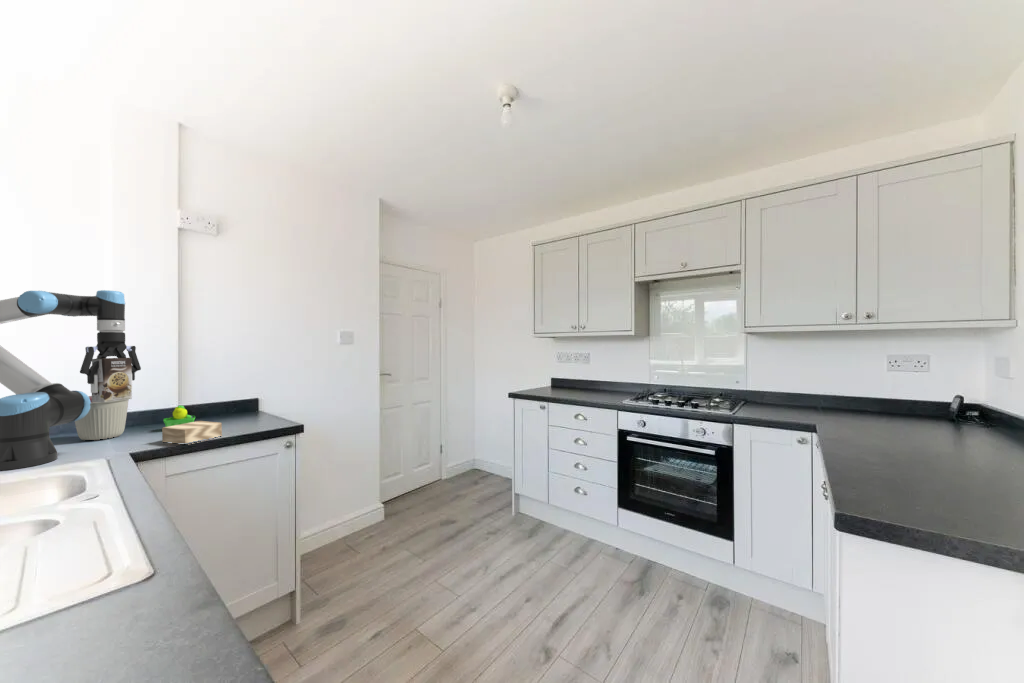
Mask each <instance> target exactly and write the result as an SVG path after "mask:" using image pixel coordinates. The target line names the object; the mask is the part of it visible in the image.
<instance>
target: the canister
mask: <svg viewBox="0 0 1024 683" xmlns="http://www.w3.org/2000/svg"><path fill="white" fill-rule="evenodd" d="M87 396H88V395H87ZM88 397H89V398H90V401H91V404H90V406H91V407H90V410H89V412H88V414H87V415H86V416H85V417H83V418H82V419H80V420H77V421H74V425H75V429H76V433H77V436H78V437H79V439H80V440H81V441H85V440H94V441H101V440H100V439H103V440H107V438H109V439H113V437H114V438H118V437H120V436H122V435H123V433H124V431H125V428H126V424H127V422H126V421H127V415H128V407H129V400H130V399H127V400H119V401H111V402H92V395H89V396H88Z"/></svg>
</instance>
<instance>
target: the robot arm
mask: <svg viewBox="0 0 1024 683" xmlns="http://www.w3.org/2000/svg"><path fill="white" fill-rule="evenodd" d="M125 311H126V301H125V294H124V293H123V292H122V291H118V290H105V289H104V290H103V289H102V290H97V291H96V294H95V295H93V296H91V295H75V294H67V293H58V292H51V291H46V290H28V291H23V293H22V294H20V295H19V296H17V297H16V296H15V297H11V298H6V299H0V325H2V324H7V323H12V322H17V321H21V320H25V319H32V318H36V317H41V316H46V315H57V316H58V315H59V316H60V315H61V316H63V317H96V331H98V332H97V333H96V341H97V344H96V345H95V346H86V347H85V355H84V358H83V360H82V364H81V367H80V370H79V374H84V375H86V376H87V377H86V379H87V383H86V384H87V385H90V393H91V394H92V393H98V375H94V374H95V373H96V371H97V370H98V368H99V361H96V362H94V363H93V364H92V359H94V355H95V353H96V352H99V353H98V354H97V356H96V358H95V359H101V358H108V357H116V358H127V355H126V354H125V353H124V352H125V350H126V351H127V354H128V356H129V357H128V358H132V359H131V365H132V382H133V381H135V379H136V372H138V371H141V369H142V367H141V365H140V361H139V358H138V356H137V353H136V349H137V347H136V346H135V345H127V344H126V333H125V332H124V331H126V318H125V317H126V316H125V315H126V314H125V313H126V312H125ZM0 384H1V385H3V386H4V387H5V388H7V389H8V390H10V391H11V392H12V393H13V394H11V395H7V396H3V397H1V398H0V471H6V470H7V471H9V470H16V469H23V468H29V467H34V466H39V465H43V464H47V463H51V462H53V461H56V460H57V459H58V450H57V449H56V447H55V445H54V443H53V441H52V440H51V437H50V428H51V427H55V426H56V427H57V426H61V425H65V424H72V423H75V421H77V420H80V419H82V418H83V417H85V416H86V415H87V414H88V412H89V410H90V407H91V406H90V404H91V401H90V398H89V397H88V394H87V393H85V392H83V391H79V390H70V389H69V388H67V386H64V385H63V384H62V383H60V382H59V383H58V382H56V383H55V382H54V383H53V382H50V381H49V380H48V379H46V378H45V377H44V376H42V375H41V374H40V373H38V372H37V370H34V369H33V368H32V367H30V366H29V365H27V363H25V362H24V361H22V359H19V358H18V357H17V356H15V355H14V354H12V352H10V351H8V350H7V349H6V348H4V347H3V346H2V345H0Z"/></svg>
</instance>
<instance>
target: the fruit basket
mask: <svg viewBox="0 0 1024 683" xmlns="http://www.w3.org/2000/svg"><path fill="white" fill-rule="evenodd" d="M195 419H196V415H192V414H191V415H190V414H188V410H187V409H186V408H185V406H184V405H178V406H176V407H175V408H174V409H173V411H172V416H169V417H166V418H163V424H164V425H165V426H164V427H168V426H174V425H179V424H185V423H190V422H195Z"/></svg>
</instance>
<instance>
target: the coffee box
mask: <svg viewBox="0 0 1024 683" xmlns="http://www.w3.org/2000/svg"><path fill="white" fill-rule="evenodd" d="M131 359H132V358H130V357H126V358H117V357H106V358H101V359H96V358H93V359H92V362H91V365H92V364H93V363H94V362H96V361H99V368H98V370H97V371H96V373H95V374H94V375H98V393H91V396H92V402H111V401H119V400H127V399H129V400H132V398H133V396H132V395H133V393H132V391H133V381H132V363H131Z"/></svg>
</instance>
